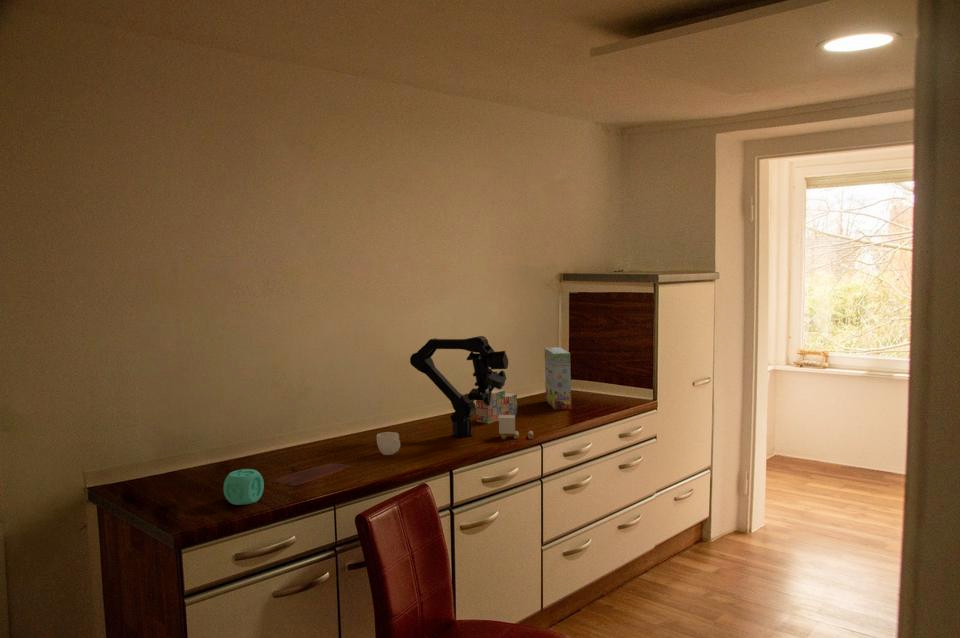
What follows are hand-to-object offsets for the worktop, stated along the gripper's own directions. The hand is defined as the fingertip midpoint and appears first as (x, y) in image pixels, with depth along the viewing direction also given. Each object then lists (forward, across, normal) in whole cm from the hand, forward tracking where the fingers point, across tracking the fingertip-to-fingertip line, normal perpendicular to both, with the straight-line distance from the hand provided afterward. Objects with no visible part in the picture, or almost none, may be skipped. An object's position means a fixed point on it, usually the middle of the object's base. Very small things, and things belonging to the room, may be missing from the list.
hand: (488, 405), depth 287 cm
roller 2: (+12, -2, -16) cm, 20 cm away
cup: (-3, -42, +19) cm, 46 cm away
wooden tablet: (-12, -71, +27) cm, 77 cm away
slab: (+8, -5, -8) cm, 13 cm away
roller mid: (+9, -4, -12) cm, 15 cm away
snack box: (+32, +58, -4) cm, 66 cm away
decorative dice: (-22, -99, +29) cm, 105 cm away
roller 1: (+10, -6, -6) cm, 13 cm away
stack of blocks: (+20, +22, +9) cm, 31 cm away
